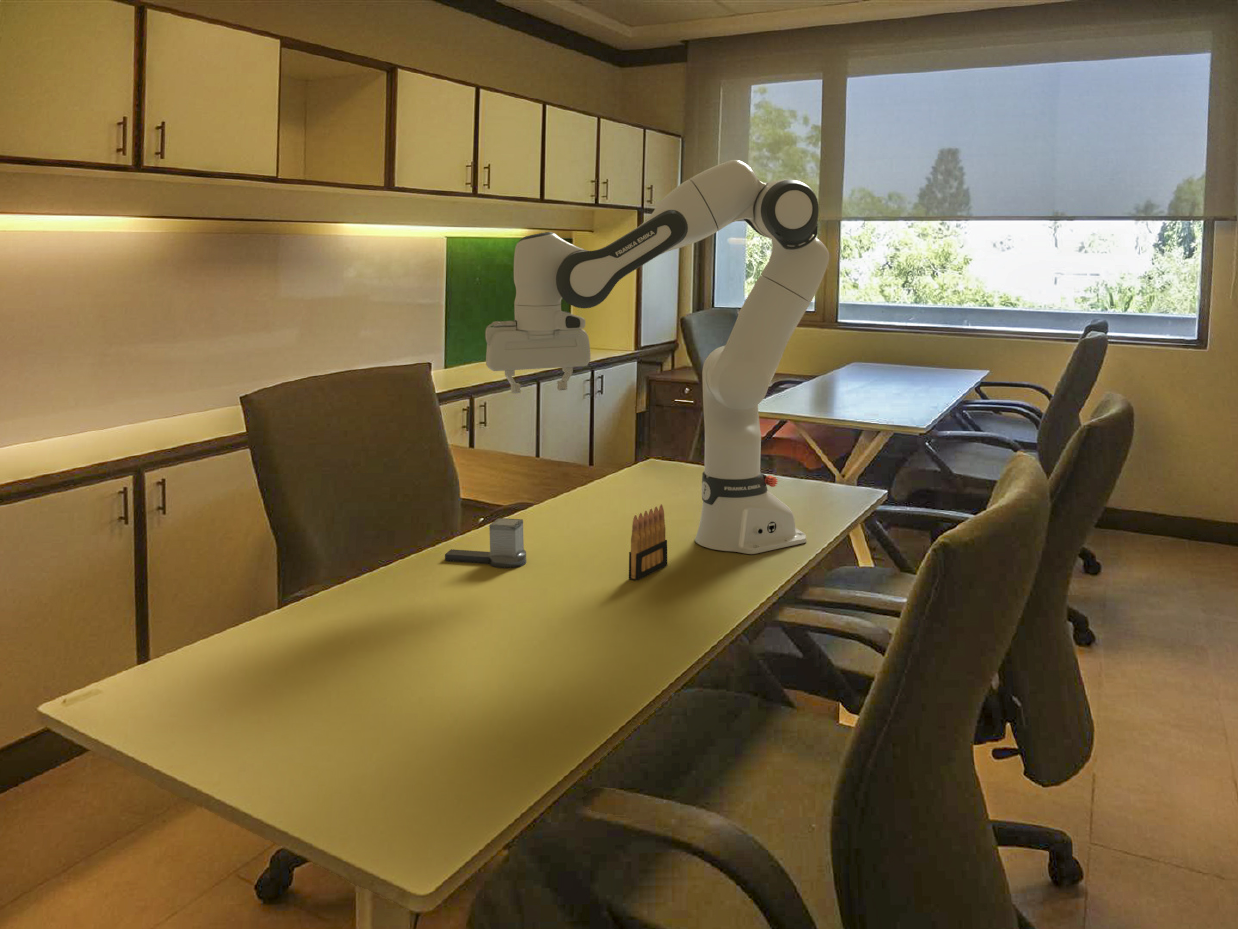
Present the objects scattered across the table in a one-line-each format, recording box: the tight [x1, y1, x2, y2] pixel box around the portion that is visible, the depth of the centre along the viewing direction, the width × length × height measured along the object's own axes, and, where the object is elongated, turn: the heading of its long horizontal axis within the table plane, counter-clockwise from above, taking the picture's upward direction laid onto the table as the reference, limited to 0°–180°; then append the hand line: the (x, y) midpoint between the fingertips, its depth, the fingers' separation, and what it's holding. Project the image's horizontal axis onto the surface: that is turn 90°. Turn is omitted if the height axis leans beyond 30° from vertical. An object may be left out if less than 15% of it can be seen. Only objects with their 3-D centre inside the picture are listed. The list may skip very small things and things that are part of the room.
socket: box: [489, 517, 525, 558], centre depth 203 cm, size 5×5×6 cm
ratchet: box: [444, 549, 527, 570], centre depth 204 cm, size 16×7×5 cm, turn 78°
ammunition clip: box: [628, 504, 668, 582], centre depth 197 cm, size 11×2×12 cm, turn 146°
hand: (539, 391), depth 207 cm, fingers open, 8 cm apart
